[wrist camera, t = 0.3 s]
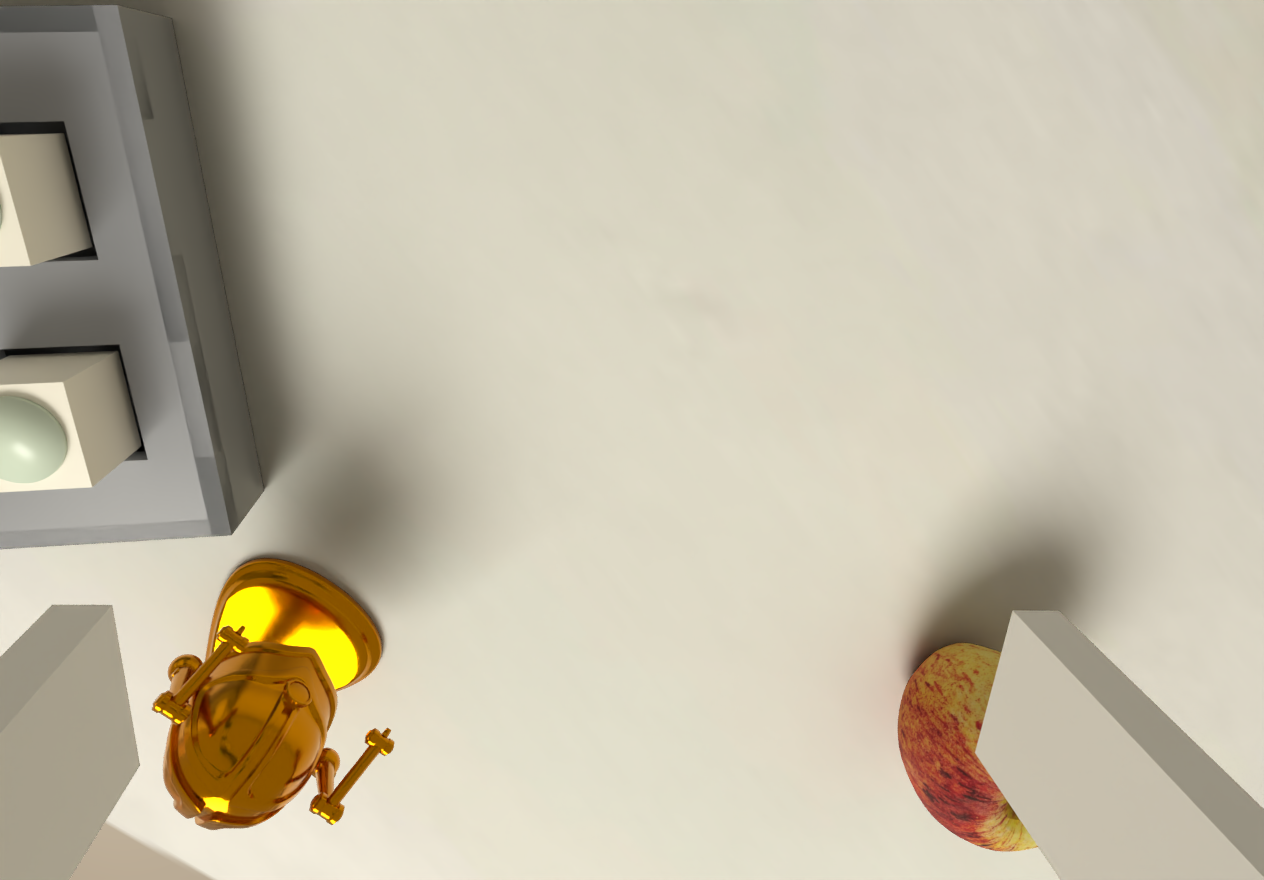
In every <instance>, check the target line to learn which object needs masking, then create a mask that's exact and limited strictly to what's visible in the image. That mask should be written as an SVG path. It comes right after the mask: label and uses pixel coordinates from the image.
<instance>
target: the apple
mask: <svg viewBox="0 0 1264 880" xmlns="http://www.w3.org/2000/svg"><path fill="white" fill-rule="evenodd" d="M1000 656H1001V652H999V651H996V650H993V649H990V648H986V647H983V646H979V645H975V644H971V643H955V644H951V645H948V646H946V647H943V648H941V649H939V650H937V651H935V652H934V653H933V654H932V655H930V656H929V657H928V658H927V659H926V660H925V661H924V662H923V663H922V664H921V665H920V666H919V667H918V669H917V670H916V671H915V672H914V673H913V675H912V676H911V678H910V679H909V681H908V683H907V685H906V688H905V690H904V693H903V696H902V700H901V704H900V709H899V717H898V741H899V748H900V753H901V757H902V760H903V763H904V766H905V769H906V772H907V774H908V776H909V779H910V781H911V783H912V785H913V787H914V789H915V791H916V793H917V795H918V797H919V798H920V800H921V801H922V803H923V804H924V806H925V807H926V808H927V810H928V811H929V812H930V813H931V815H932V816H933V817H934V818H935V819H936V820H937V821H938V822H939V823H941V824H942V825H943V826H944V827H946V828H947V829H948V830H949V831H951V832H952V833H954V834H955V835H957V836H959V837H960V838H962V839H964V840H966V841H968V842H970V843H973V844H975V845H977V846H980V847H983V848H986V849H990V850H995V851H1020V850H1026V849H1031V848H1036V847H1038V846H1037V844H1036V843H1035V841H1034V840H1033V838H1032V837H1031V835H1030V834H1029V832H1028V831H1027V829H1026V828H1025V826H1024V825H1023V823H1022V822H1021V821H1020V819H1019V818H1018V816H1017V815H1016V813H1015V812H1014V810H1013V809H1012V807H1011V806H1010V804H1009V803H1008V801H1007V800H1006V798H1005V797H1004V795H1003V794H1002V792H1001V791H1000V789H999V788H998V786H997V785H996V783H995V782H994V780H993V779H992V777H991V776H990V774H989V773H988V772H987V770H986V769H985V767H984V766H983V764H982V763H981V761H980V760H979V758H978V757H977V755H976V754H975V751H976V747H977V743H978V739H979V736H980V732H981V728H982V724H983V720H984V717H985V713H986V709H987V705H988V701H989V698H990V694H991V690H992V686H993V683H994V679H995V675H996V671H997V667H998V664H999V660H1000Z"/></svg>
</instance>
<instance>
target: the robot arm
mask: <svg viewBox="0 0 1264 880" xmlns="http://www.w3.org/2000/svg"><path fill="white" fill-rule="evenodd" d="M975 754H976V755H977V757H978V758H979V760H980V761H981V763H982V764H983V766H984V767H985V769H986V770H987V772H988V773H989V774H990V776H991V777H992V779H993V780H994V782H995V783H996V785H997V786H998V788H999V789H1000V791H1001V792H1002V794H1003V795H1004V797H1005V798H1006V800H1007V801H1008V803H1009V804H1010V806H1011V807H1012V809H1013V810H1014V812H1015V813H1016V815H1017V816H1018V818H1019V819H1020V821H1021V822H1022V823H1023V825H1024V826H1025V828H1026V829H1027V831H1028V832H1029V834H1030V835H1031V837H1032V838H1033V840H1034V841H1035V843H1036V844H1037V846H1038V847H1039V849H1040V850H1041V852H1042V853H1043V855H1044V856H1045V858H1046V859H1047V861H1048V862H1049V864H1050V865H1051V867H1052V868H1053V870H1054V871H1055V873H1056V874H1057V875H1058V877H1059V878H1060V880H1264V809H1263V808H1262V807H1261V806H1260V805H1259V804H1258V803H1257V802H1256V801H1255V800H1254V799H1253V798H1252V797H1251V796H1250V795H1249V794H1248V793H1247V792H1246V791H1245V790H1244V789H1243V788H1241V787H1240V786H1239V785H1238V784H1237V783H1236V782H1235V781H1234V780H1233V779H1232V778H1231V777H1230V776H1229V775H1228V774H1227V773H1226V772H1225V771H1224V770H1223V769H1222V768H1221V767H1220V766H1219V765H1218V764H1217V763H1216V762H1215V761H1214V760H1213V759H1212V758H1210V757H1209V756H1208V755H1207V754H1206V753H1205V752H1204V751H1203V750H1202V749H1201V748H1200V747H1199V746H1198V745H1197V744H1196V743H1195V742H1194V741H1193V740H1192V739H1191V738H1190V737H1189V736H1188V735H1187V734H1186V733H1185V732H1184V731H1183V730H1182V729H1181V728H1180V727H1178V726H1177V725H1176V724H1175V723H1174V722H1173V721H1172V720H1171V719H1170V718H1169V717H1168V716H1167V715H1166V714H1165V713H1164V712H1163V711H1162V710H1161V709H1160V708H1159V707H1158V706H1157V705H1156V704H1155V703H1154V702H1153V701H1152V700H1151V699H1150V698H1149V697H1147V696H1146V695H1145V694H1144V693H1143V692H1142V691H1141V690H1140V689H1139V688H1138V687H1137V686H1136V685H1135V684H1134V683H1133V682H1132V681H1131V680H1130V679H1129V678H1128V677H1127V676H1126V675H1125V674H1124V673H1123V672H1122V671H1121V670H1120V669H1119V668H1118V667H1116V666H1115V665H1114V664H1113V663H1112V662H1111V661H1110V660H1109V659H1108V658H1107V657H1106V656H1105V655H1104V654H1103V653H1102V652H1101V651H1100V650H1099V649H1098V648H1097V647H1096V646H1095V645H1094V644H1093V643H1092V642H1091V641H1090V640H1089V639H1088V638H1087V637H1086V636H1084V635H1083V634H1082V633H1081V632H1080V631H1079V630H1078V629H1077V628H1076V627H1075V626H1074V625H1073V624H1072V623H1071V622H1070V621H1069V620H1068V619H1067V618H1066V617H1065V616H1064V615H1063V614H1062V613H1061V612H1060V611H1040V610H1013V611H1012V614H1011V618H1010V622H1009V626H1008V630H1007V633H1006V637H1005V641H1004V645H1003V649H1002V652H1001V656H1000V660H999V664H998V667H997V671H996V675H995V679H994V683H993V686H992V690H991V694H990V698H989V701H988V705H987V709H986V713H985V717H984V720H983V724H982V728H981V732H980V736H979V739H978V743H977V747H976V751H975ZM139 766H140V763H139V757H138V751H137V745H136V740H135V734H134V728H133V722H132V717H131V711H130V705H129V699H128V693H127V688H126V682H125V676H124V670H123V665H122V659H121V653H120V647H119V642H118V636H117V630H116V624H115V618H114V613H113V607H112V605H52V606H51V607H50V608H49V609H48V610H47V611H46V612H45V613H44V614H43V615H42V616H41V617H40V618H39V619H38V620H37V621H36V622H35V623H34V624H33V625H32V626H31V627H30V628H29V629H28V630H27V631H26V632H25V633H24V634H23V635H22V636H21V637H20V638H19V639H18V640H17V641H16V642H15V643H14V644H13V645H12V646H11V647H10V648H9V649H8V650H7V651H6V652H5V653H4V654H3V655H2V656H1V657H0V880H69V879H70V878H71V876H72V874H73V873H74V871H75V870H76V868H77V866H78V865H79V863H80V862H81V860H82V858H83V857H84V855H85V853H86V851H87V850H88V849H89V847H90V845H91V844H92V842H93V840H94V839H95V837H96V836H97V834H98V832H99V830H100V829H101V827H102V826H103V824H104V823H105V821H106V819H107V818H108V816H109V815H110V813H111V811H112V810H113V808H114V806H115V805H116V803H117V802H118V800H119V798H120V797H121V795H122V793H123V792H124V790H125V789H126V787H127V785H128V784H129V782H130V780H131V779H132V777H133V776H134V774H135V772H136V771H137V769H138V767H139Z"/></svg>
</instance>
